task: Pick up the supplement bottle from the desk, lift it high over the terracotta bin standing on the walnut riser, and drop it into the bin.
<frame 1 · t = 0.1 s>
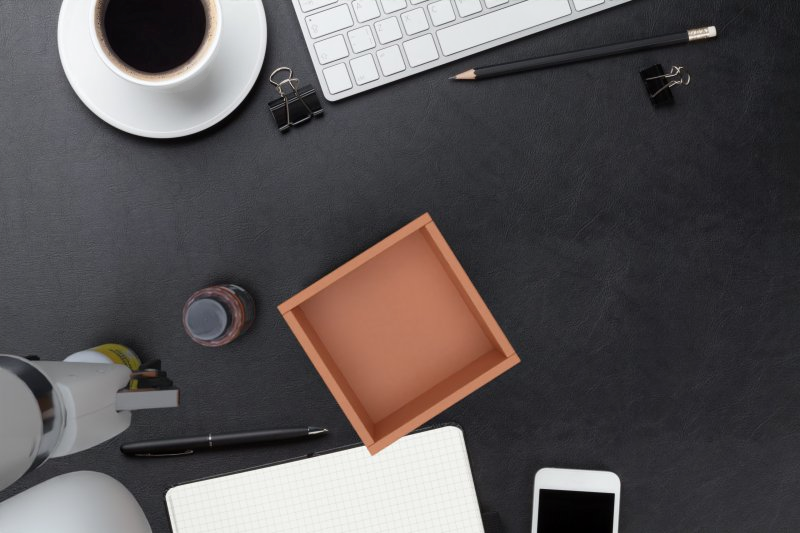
hand: (96, 376, 61), 22 cm above the table, tool pointing down, fingers open, 9 cm apart
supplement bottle: (229, 310, 83), on the table
pill bottle: (115, 371, 83), on the table
bin: (396, 325, 60), resting on riser
riser: (388, 306, 84), on the table
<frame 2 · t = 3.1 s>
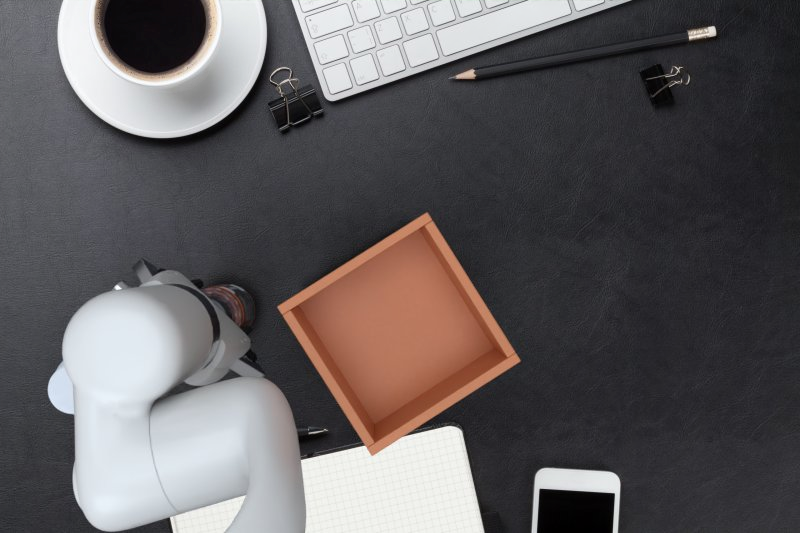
hand: (216, 315, 76), 7 cm above the table, tool pointing down, fingers closed on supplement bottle, 6 cm apart
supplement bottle: (229, 310, 83), on the table, touching gripper
everything else where it was.
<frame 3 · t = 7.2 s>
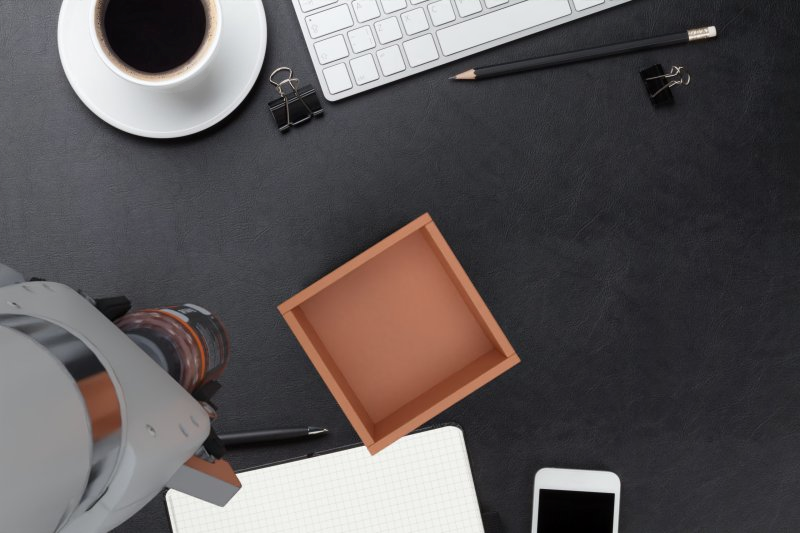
hand: (154, 361, 42), 41 cm above the table, tool pointing down, fingers closed on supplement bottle, 6 cm apart
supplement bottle: (186, 347, 49), point 34 cm above the table, touching gripper
everything else where it was.
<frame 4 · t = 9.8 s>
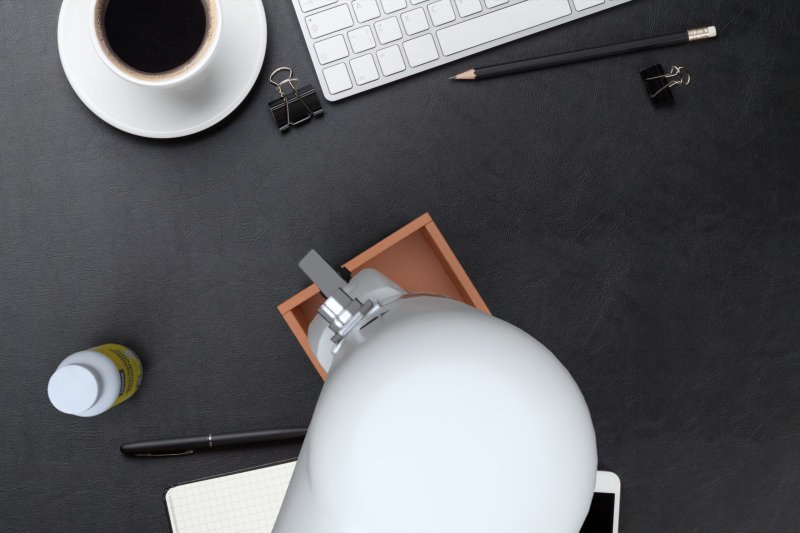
hand: (403, 340, 48), 36 cm above the table, tool pointing down, fingers closed on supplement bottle, 6 cm apart
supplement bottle: (399, 330, 55), point 29 cm above the table, touching gripper
everything else where it was.
when the fingers open (32 cm above the table, at t = 11.6 s): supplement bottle stays where it is, resting on bin.
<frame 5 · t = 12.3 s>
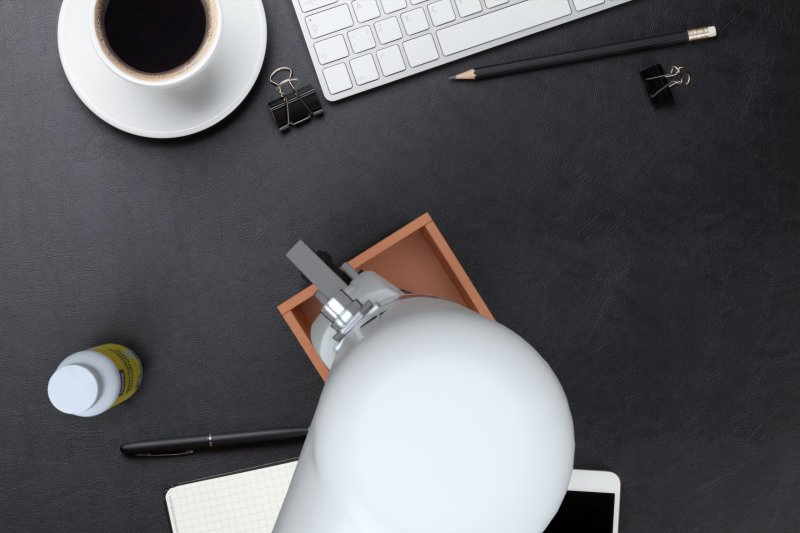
hand: (401, 341, 49), 34 cm above the table, tool pointing down, fingers open, 9 cm apart
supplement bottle: (396, 326, 59), point 25 cm above the table, touching bin
everything else where it was.
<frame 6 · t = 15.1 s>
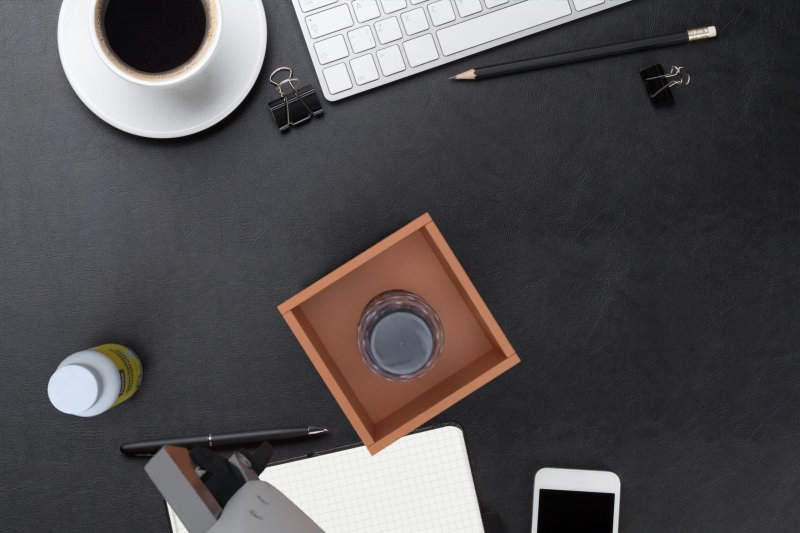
hand: (316, 527, 40), 43 cm above the table, tool pointing down, fingers open, 9 cm apart
nothing on the table moved.
at the end: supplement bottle inside the target area on the bin (0.0 cm from its centre), point 0.6 cm above the bin's base; the gripper is holding nothing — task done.
